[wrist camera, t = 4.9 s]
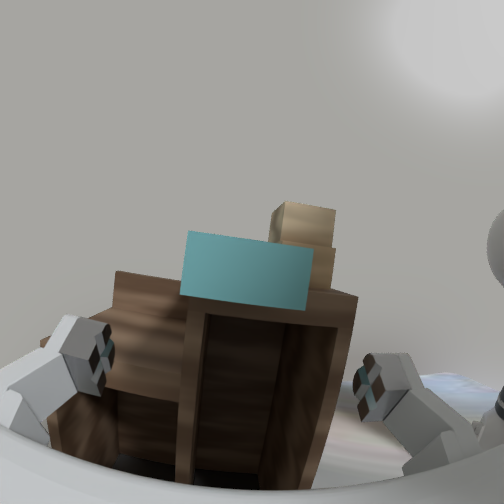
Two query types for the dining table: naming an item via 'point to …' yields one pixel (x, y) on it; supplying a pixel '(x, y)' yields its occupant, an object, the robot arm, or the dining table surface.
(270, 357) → the rack
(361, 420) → the robot arm
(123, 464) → the dining table surface
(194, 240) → the slat
